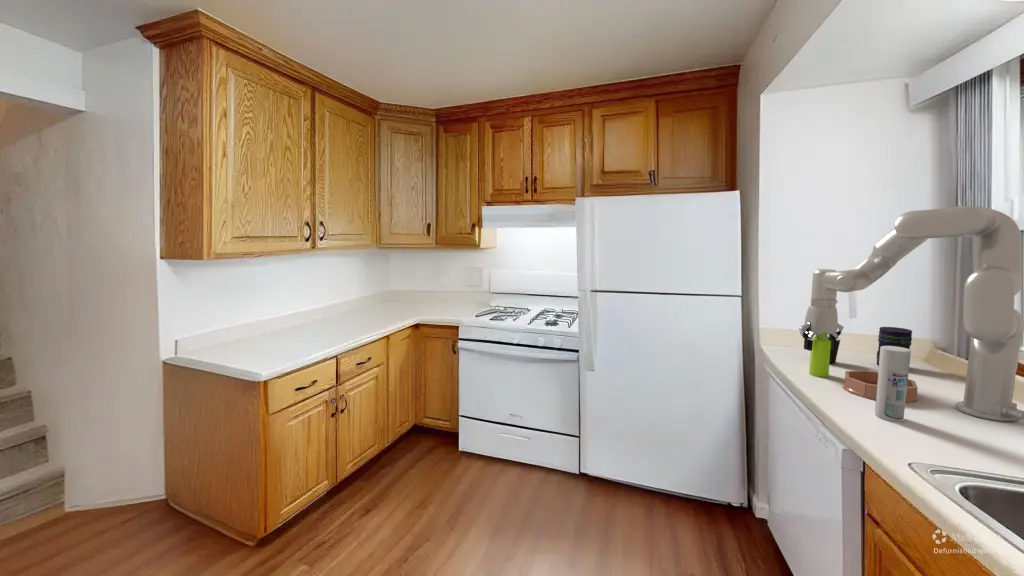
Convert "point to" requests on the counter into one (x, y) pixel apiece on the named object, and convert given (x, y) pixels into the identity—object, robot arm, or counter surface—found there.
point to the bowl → (872, 385)
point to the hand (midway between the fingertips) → (819, 349)
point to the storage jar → (893, 338)
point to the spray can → (892, 383)
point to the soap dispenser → (820, 356)
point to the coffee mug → (833, 351)
